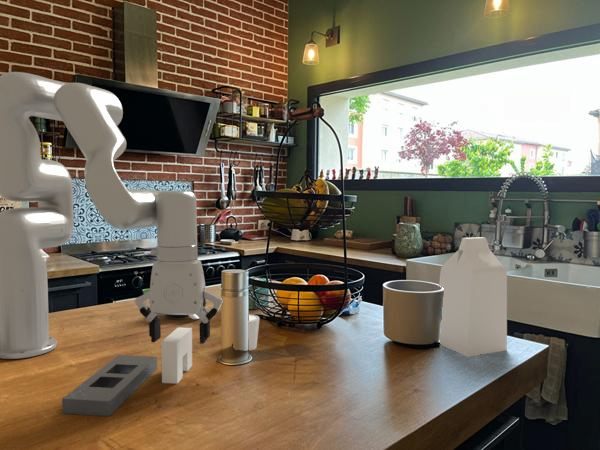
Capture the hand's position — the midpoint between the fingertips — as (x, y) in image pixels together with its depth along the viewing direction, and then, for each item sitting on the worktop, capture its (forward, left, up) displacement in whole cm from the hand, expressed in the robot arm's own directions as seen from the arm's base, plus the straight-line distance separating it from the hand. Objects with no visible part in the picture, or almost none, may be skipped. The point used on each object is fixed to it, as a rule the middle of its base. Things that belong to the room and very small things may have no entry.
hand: (179, 340), depth 93 cm
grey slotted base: (-10, -8, -7) cm, 14 cm away
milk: (+62, +25, -7) cm, 68 cm away
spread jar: (-13, +40, -7) cm, 43 cm away
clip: (-1, 0, -7) cm, 7 cm away
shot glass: (+9, +17, -7) cm, 21 cm away
